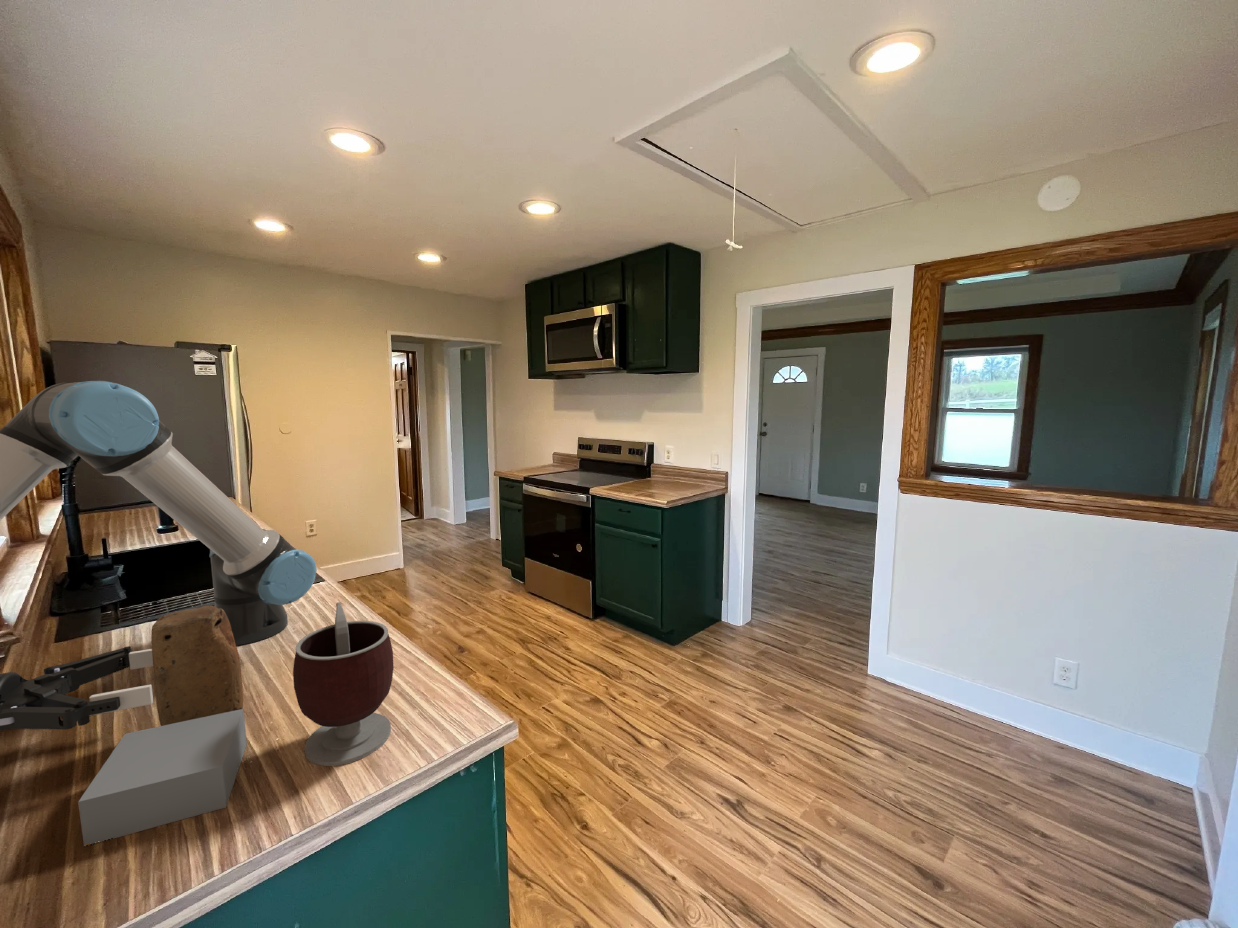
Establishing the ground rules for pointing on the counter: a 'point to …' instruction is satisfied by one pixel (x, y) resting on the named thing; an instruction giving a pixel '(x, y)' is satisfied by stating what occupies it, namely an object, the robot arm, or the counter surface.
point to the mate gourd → (344, 688)
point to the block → (195, 665)
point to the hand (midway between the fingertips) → (167, 671)
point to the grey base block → (164, 776)
